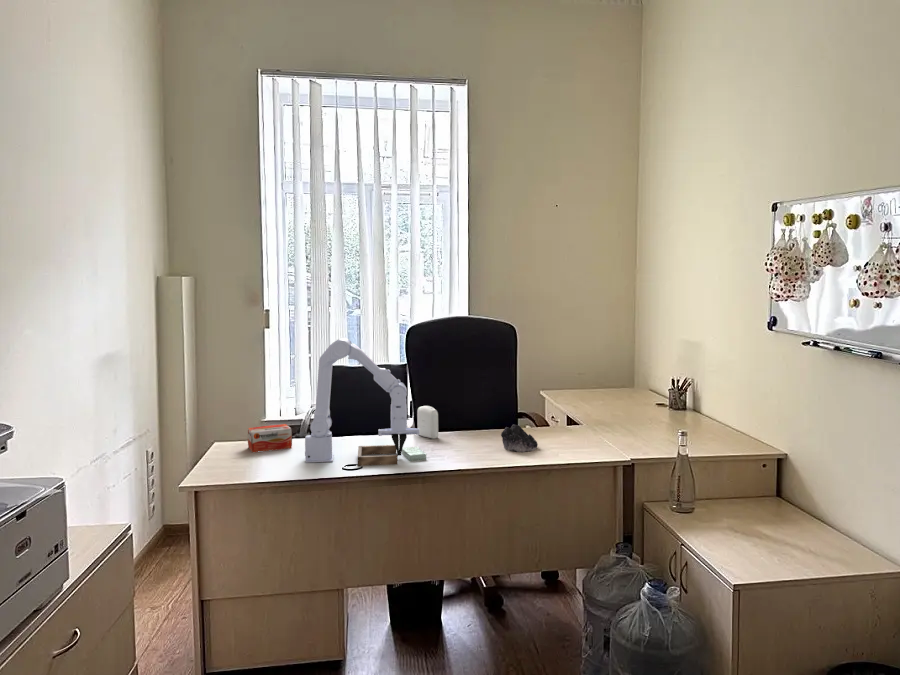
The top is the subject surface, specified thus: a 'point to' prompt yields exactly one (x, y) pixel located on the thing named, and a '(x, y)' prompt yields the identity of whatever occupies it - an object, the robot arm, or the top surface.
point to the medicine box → (269, 438)
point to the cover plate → (414, 453)
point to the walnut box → (377, 459)
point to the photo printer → (427, 421)
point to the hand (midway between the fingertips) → (399, 454)
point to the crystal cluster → (518, 439)
